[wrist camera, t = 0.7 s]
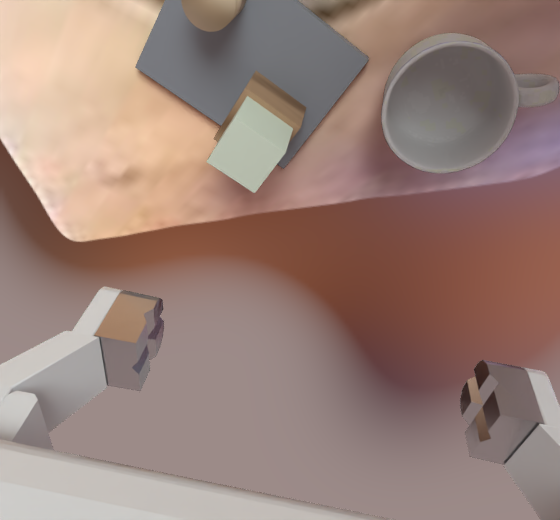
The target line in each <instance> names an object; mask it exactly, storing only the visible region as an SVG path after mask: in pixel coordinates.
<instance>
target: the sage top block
mask: <svg viewBox="0 0 560 520" xmlns="http://www.w3.org/2000/svg"><path fill="white" fill-rule="evenodd" d="M292 131H293V128H292V127H290V126H289V125H288V124H286V123H285V122H283V121H282V120H281V119H279V118H278V117H276V116H275V115H274V114H272V113H271V112H269V111H268V110H267V109H265V108H264V107H262V106H261V105H260V104H258V103H257V102H255V101H254V100H253V99H251V98H250V97H248V96H247V97H246V99H245V100H244V102H243V103H242V105H241V106H240V108H239V110H238V111H237V113H236V114H235V116H234V117H233V119H232V121H231V122H230V124H229V125H228V127H227V128H226V130H225V131H224V133H223V135H222V136H221V138H220V139H219V141H218V143H217V145H216V146H215V148H214V150H213V151H212V153H211V155H210V157H209V158H208V160H207V163H209V164H210V165H212V166H213V167H215V168H216V169H218V170H220V171H221V172H223V173H224V174H226V175H227V176H229V177H230V178H232V179H233V180H235V181H236V182H238V183H239V184H241V185H242V186H244V187H246V188H247V189H249V190H250V191H252V192H253V193H255V192H256V191H257V190H258V188H259V187H260V186H261V184H262V183H263V182H264V180H265V179H266V178H267V176H268V175H269V174H270V173H271V171H272V170H273V169H274V167H275V166H276V165H277V163H278V162H279V161H280V159H281V158H282V157H283V156H284V154H285V153H286V150H287V147H288V144H289V140H290V137H291V134H292Z"/></svg>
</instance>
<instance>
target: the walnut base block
mask: <svg viewBox="0 0 560 520" xmlns="http://www.w3.org/2000/svg"><path fill="white" fill-rule="evenodd" d="M247 96H248V97H250V98H251V99H253V100H254V101H255V102H257V103H258V104H260V105H261V106H262V107H264V108H265V109H267V110H268V111H269V112H271V113H272V114H274V115H275V116H276V117H278V118H279V119H281V120H282V121H283V122H285V123H286V124H288V125H289V126H290V127H292V128H293V131H292V134H291V137H290V140H289V142H290V141H291V140H292V138H293V137H294V136H295V134H296V133H297V132H298V130H299V129H300V128H301V125H302V121H303V118H304V114H305V110H306V107H305V106H304V105H303V104H301V103H300V102H298V101H297V100H296V99H294V98H293V97H292V96H290V95H289V94H288V93H286V92H285V91H283V90H282V89H281V88H279V87H278V86H277V85H275V84H274V83H273V82H271V81H270V80H268V79H267V78H266V77H264V76H263V75H262V74H260V73H259V72H258V71H255V73H254V74H253V76H252V77H251V79H250V81H249V82H248V84H247V85H246V87H245V89H244V90H243V92H242V93H241V95H240V97H239V98H238V100H237V101H236V103H235V105H234V106H233V108H232V109H231V111H230V112H229V114H228V116H227V117H226V119H225V121H224V122H223V124H222V125H221V127H220V129H219V130H218V132H217V134H216V135H215V137H214V140H216V141H217V142H218V141H219V139H220V138H221V136H222V135H223V133H224V131H225V130H226V128H227V127H228V125H229V124H230V122H231V121H232V119H233V117H234V116H235V114H236V113H237V111H238V110H239V108H240V106H241V105H242V103H243V102H244V100H245V99H246V97H247Z"/></svg>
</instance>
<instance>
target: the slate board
mask: <svg viewBox="0 0 560 520" xmlns="http://www.w3.org/2000/svg"><path fill="white" fill-rule="evenodd" d="M367 62H368V56H366V55H365V54H364V53H363V52H361V51H360V50H359V49H358V48H356V47H355V46H354V45H353V44H351V43H350V42H349V41H348V40H346V39H345V38H344V37H343V36H341V35H340V34H339V33H338V32H336V31H335V30H334V29H333V28H331V27H330V26H329V25H328V24H326V23H325V22H324V21H323V20H321V19H320V18H319V17H318V16H316V15H315V14H314V13H313V12H311V11H310V10H309V9H308V8H306V7H305V6H304V5H303V4H301V3H300V2H299V1H298V0H246V3H245V6H244V7H243V9H242V10H241V11H240V13H239V14H238V15H237V16H236V17H235V18H234V19H233V20H232V21H231V22H230V23H229V24H228V25H227V26H225V27H224V28H223V29H221V30H219V31H214V32H208V31H204V30H201V29H199V28H197V27H196V26H194V25H193V24H192V23H191V22H190V21H189V19H188V18H187V16H186V15H185V13H184V10H183V7H182V3H181V0H165V2H164V4H163V6H162V9H161V11H160V13H159V15H158V18H157V20H156V22H155V24H154V26H153V29H152V31H151V33H150V35H149V38H148V40H147V42H146V44H145V47H144V49H143V51H142V53H141V55H140V58H139V60H138V62H137V64H136V68H137V69H138V70H140V71H141V72H143V73H144V74H146V75H147V76H149V77H150V78H152V79H153V80H155V81H156V82H157V83H159V84H160V85H162V86H163V87H165V88H166V89H168V90H169V91H171V92H172V93H174V94H175V95H177V96H178V97H179V98H181V99H182V100H184V101H185V102H187V103H188V104H190V105H191V106H193V107H194V108H196V109H197V110H198V111H200V112H201V113H203V114H204V115H206V116H207V117H209V118H210V119H212V120H213V121H215V122H216V123H218V124H219V125H220V126H221V125H222V124H223V122H224V121H225V119H226V117H227V116H228V114H229V112H230V111H231V109H232V108H233V106H234V105H235V103H236V101H237V100H238V98H239V97H240V95H241V93H242V92H243V90H244V89H245V87H246V85H247V84H248V82H249V81H250V79H251V77H252V76H253V74H254V73H255V71H258V72H259V73H260V74H262V75H263V76H264V77H266V78H267V79H268V80H270V81H271V82H273V83H274V84H275V85H277V86H278V87H279V88H281V89H282V90H283V91H285V92H286V93H288V94H289V95H290V96H292V97H293V98H294V99H296V100H297V101H298V102H300V103H301V104H303V105H304V106H305V107H306V110H305V114H304V118H303V121H302V125H301V128H300V129H299V130H298V132H297V133H296V134H295V136H294V137H293V138H292V140H291V141H290V142H289V144H288V147H287V150H286V153H285V154H284V156H283V157H282V158H281V159H280V161H279V162H278V163H277V164H278V165H279V166H280V167H282V168H283V169H284V168H285V166H286V165H287V164H288V163H289V161H290V160H291V159H292V157H293V156H294V155H295V154H296V152H297V151H298V150H299V149H300V147H301V146H302V145H303V143H304V142H305V141H306V140H307V138H308V137H309V136H310V134H311V133H312V132H313V131H314V129H315V128H316V127H317V125H318V124H319V123H320V122H321V120H322V119H323V118H324V117H325V115H326V114H327V113H328V111H329V110H330V109H331V108H332V106H333V105H334V104H335V102H336V101H337V100H338V99H339V97H340V96H341V95H342V94H343V92H344V91H345V90H346V88H347V87H348V86H349V85H350V83H351V82H352V81H353V79H354V78H355V77H356V76H357V74H358V73H359V72H360V70H361V69H362V68H363V67H364V65H365V64H366V63H367Z"/></svg>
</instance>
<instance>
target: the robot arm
mask: <svg viewBox="0 0 560 520" xmlns="http://www.w3.org/2000/svg"><path fill="white" fill-rule="evenodd" d="M162 310H163V300H162V299H161V298H157V297H153V296H148V295H143V294H139V293H134V292H130V291H125V290H119V289H114V288H110V287H103V288H101V289H100V290H99V291H98V293H97V294H96V295H95V297H94V298H93V300H92V301H91V303H90V304H89V306H88V307H87V309H86V311H85V312H84V313H83V315H82V316H81V318H80V320H79V321H78V322H77V324H76V325H75V327H74V328H73V330H72V331H71V332H70V331H64V332H62V333H61V334H58V335H56V336H54V337H53V338H51V339H49V340H47V341H45V342H43V343H41V344H39V345H37V346H36V347H33V348H32V349H30V350H28V351H26V352H24V353H22V354H20V355H18V356H16V357H14V358H13V359H11V360H9V361H7V362H5V363H3V364H1V365H0V520H394V519H389V518H384V517H378V516H374V515H369V514H364V513H359V512H355V511H350V510H345V509H340V508H335V507H330V506H325V505H320V504H315V503H310V502H305V501H300V500H295V499H291V498H285V497H281V496H276V495H271V494H266V493H261V492H256V491H251V490H246V489H241V488H236V487H231V486H227V485H221V484H217V483H212V482H207V481H202V480H197V479H192V478H187V477H183V476H178V475H173V474H167V473H163V472H158V471H153V470H148V469H143V468H139V467H133V466H129V465H124V464H119V463H114V462H109V461H104V460H99V459H94V458H90V457H85V456H80V455H75V454H70V453H65V452H60V451H55V450H54V449H53V446H52V443H51V440H50V437H49V432H50V431H52V430H53V429H54V428H56V427H57V426H58V425H59V424H61V423H62V422H63V421H65V420H66V419H67V418H68V417H70V416H71V415H72V414H74V413H75V412H76V411H77V410H79V409H80V408H81V407H83V406H84V405H85V404H86V403H88V402H89V401H90V400H92V399H93V398H94V397H96V396H97V395H98V394H99V393H101V392H102V391H103V390H104V389H106V388H107V385H108V386H114V387H119V388H125V389H131V390H137V391H141V388H142V386H143V384H144V382H145V380H146V378H147V375H148V373H149V371H150V362H149V360H150V359H152V358H154V357H156V355H157V353H158V351H159V348H160V345H161V341H162V337H163V331H164V321H163V320H162V319H161V317H160V315H161V313H162ZM474 371H475V377H473V378H471V379H469V380H467V381H466V384H465V385H464V387H463V389H462V394H461V398H460V404H461V405H460V408H461V414H462V417H463V418H464V419H465V421H466V422H467V423H468V424H469V427H468V428H467V430H466V431H465V435H466V441H467V445H468V451H469V456H470V457H473V458H477V459H481V460H486V461H490V462H495V463H499V464H504V468H505V469H506V470H507V472H508V473H509V475H510V476H511V478H512V479H513V481H514V482H515V484H516V485H517V486H518V488H519V489H520V491H521V492H522V494H523V495H524V496H525V498H526V499H527V501H528V502H529V504H530V505H531V506H532V508H533V509H534V511H535V512H536V514H537V515H538V517H539V518H540V519H541V520H560V406H559V404H558V401H557V399H556V396H555V393H554V391H553V388H552V386H551V383H550V381H549V378H548V376H547V374H546V373H545V372H544V371H539V370H534V369H528V368H521V367H517V366H512V365H507V364H501V363H495V362H490V361H485V360H482V361H480V362H479V363H478V364H477V365H476V367H475V368H474Z"/></svg>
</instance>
